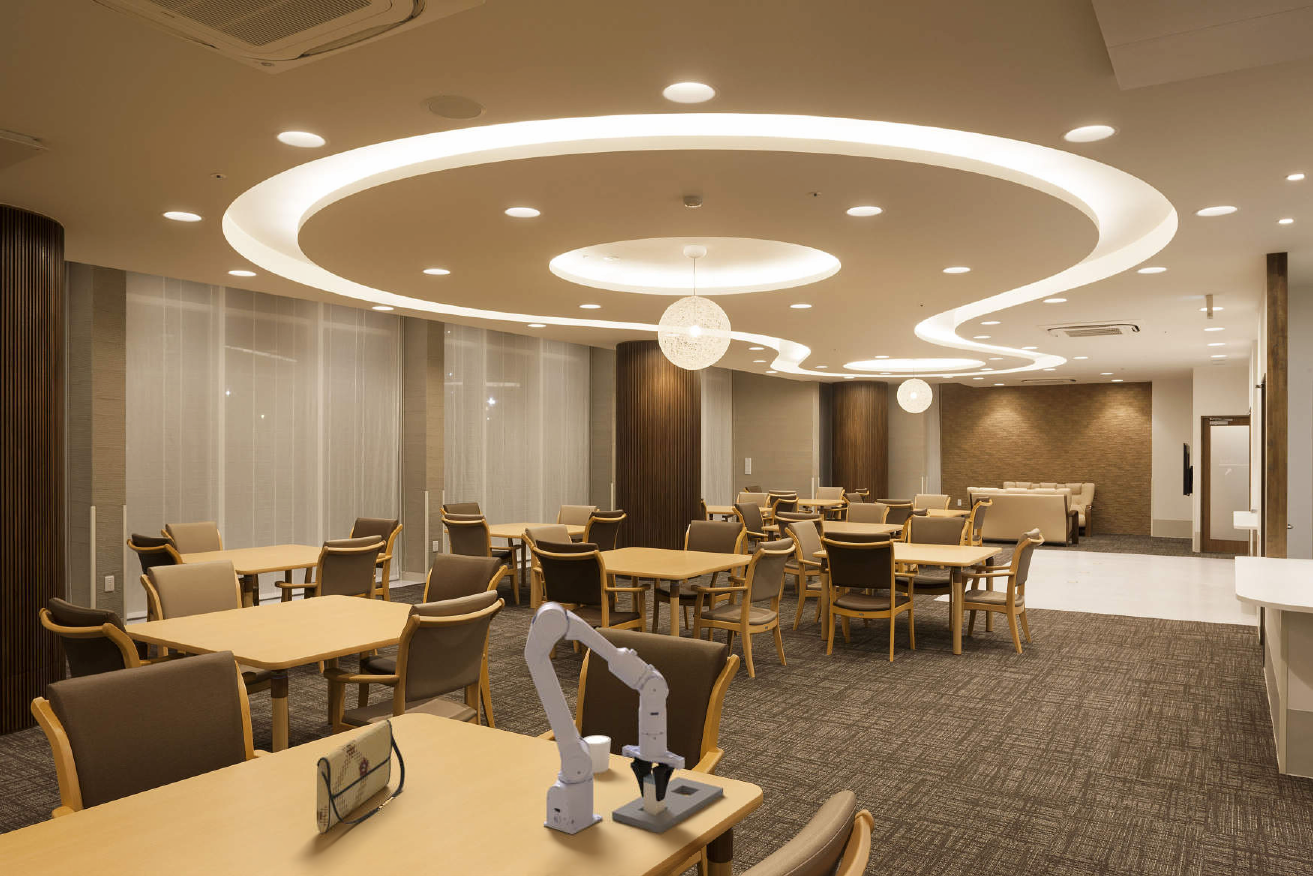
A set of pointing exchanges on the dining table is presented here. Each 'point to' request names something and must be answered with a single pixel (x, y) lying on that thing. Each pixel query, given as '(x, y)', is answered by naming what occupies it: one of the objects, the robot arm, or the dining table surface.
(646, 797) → the plug
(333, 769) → the clutch purse
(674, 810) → the socket board
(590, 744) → the white round cup
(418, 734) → the dining table surface
